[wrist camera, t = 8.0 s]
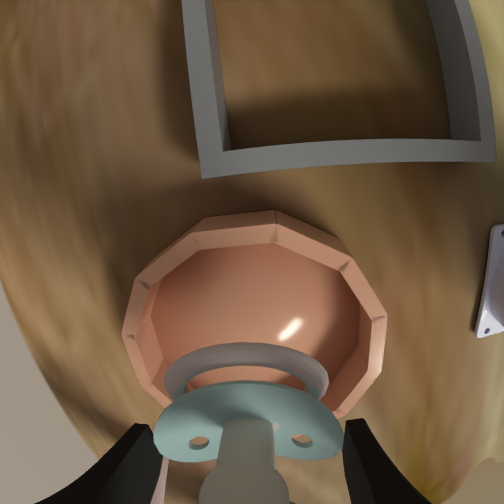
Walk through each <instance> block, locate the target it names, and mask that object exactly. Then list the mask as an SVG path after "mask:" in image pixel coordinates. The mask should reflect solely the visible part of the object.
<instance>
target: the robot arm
mask: <svg viewBox="0 0 504 504" xmlns="http://www.w3.org/2000/svg"><path fill="white" fill-rule="evenodd" d="M502 231H503V234H502V235H501V233H502ZM502 331H504V224H501V225H495V226H493V227H492V229H491V232H490V242H489V251H488V260H487V267H486V274H485V281H484V287H483V293H482V298H481V303H480V308H479V313H478V318H477V322H476V327H475V331H474V334H475V336H476V337H477V338H482V337H485V336H489V335H492V334H496V333H499V332H502ZM153 436H154V435H153V433H152V431H151V429H150V427H149V425H147V424H138V423H135V424H134V425H133V426H132V427H131V428H130V429H129V430H128V431H127V432H126V433H125V434H124V435H123V436H122V437H121V438H120V439H119V440H118V441H117V443H116V444H115V445H114V446H113V447H112V448H111V449H110V450H109V451H108V452H107V453H106V454H105V455H104V456H103V457H102V458H101V459H100V460H99V461H98V462H97V463H96V464H94V465H93V466H92V467H91V468H90V469H89V470H88V471H86V472H85V473H84V474H83V475H82V476H81V477H79V478H78V479H77V480H75V481H74V482H72V483H71V484H70V485H68V486H67V487H65V488H64V489H62V490H60V491H59V492H57V493H55V494H53V495H52V496H50V497H48V498H46V499H44V500H42V501H40V502H37V503H35V504H150V503H151V500H152V497H153V494H154V492H155V489H156V485H157V482H158V479H159V476H160V472H161V467H162V461H163V455H162V454H160V452H159V451H158V449H157V447H156V445H155V444H154V438H153ZM342 454H343V463H344V472H345V477H346V482H347V486H348V491H349V495H350V499H351V504H432V503H431V502H430V501H428V500H427V499H426V498H425V497H424V496H423V495H422V494H421V493H420V492H419V491H418V490H416V489H415V488H414V487H413V486H412V485H411V483H410V482H409V481H408V480H407V479H406V478H405V477H404V476H403V475H402V473H401V472H400V471H399V470H398V469H397V467H396V466H395V465H394V464H393V462H392V461H391V460H390V458H389V457H388V456H387V454H386V453H385V452H384V450H383V449H382V447H381V446H380V444H379V443H378V441H377V440H376V438H375V437H374V435H373V433H372V432H371V430H370V428H369V427H368V425H367V423H366V421H365V419H363V418H360V419H353V420H347V421H346V425H345V433H344V441H343V449H342Z"/></svg>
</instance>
